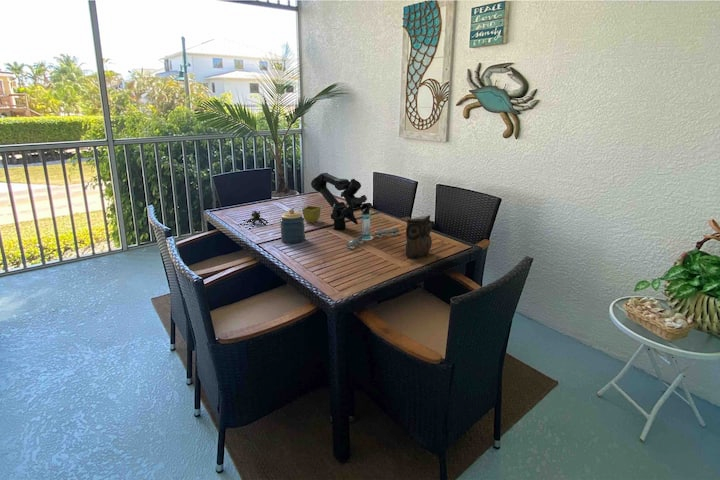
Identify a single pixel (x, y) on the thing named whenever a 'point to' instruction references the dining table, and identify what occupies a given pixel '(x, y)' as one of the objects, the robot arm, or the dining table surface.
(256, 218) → the octopus toy
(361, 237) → the shaft
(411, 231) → the owl
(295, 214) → the canister
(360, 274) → the dining table surface
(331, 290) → the dining table surface
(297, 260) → the dining table surface
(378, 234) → the shaft
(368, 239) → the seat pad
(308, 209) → the flower pot
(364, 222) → the coupling
